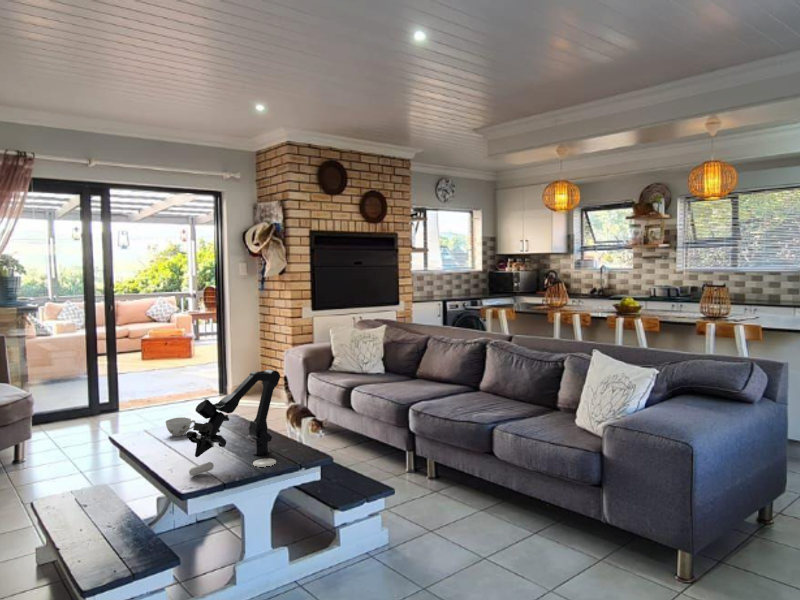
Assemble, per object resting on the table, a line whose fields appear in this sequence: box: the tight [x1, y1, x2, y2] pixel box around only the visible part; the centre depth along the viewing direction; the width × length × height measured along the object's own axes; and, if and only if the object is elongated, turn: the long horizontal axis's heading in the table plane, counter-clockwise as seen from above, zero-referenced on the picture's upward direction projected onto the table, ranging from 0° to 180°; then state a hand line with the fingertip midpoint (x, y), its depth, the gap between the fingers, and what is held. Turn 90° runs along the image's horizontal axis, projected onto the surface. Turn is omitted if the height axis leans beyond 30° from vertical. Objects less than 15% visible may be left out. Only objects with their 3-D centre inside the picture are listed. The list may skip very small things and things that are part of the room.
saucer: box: [252, 457, 277, 468], centre depth 257 cm, size 10×10×1 cm
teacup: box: [165, 416, 197, 437], centre depth 306 cm, size 15×12×8 cm
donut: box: [188, 461, 215, 477], centre depth 242 cm, size 10×4×10 cm
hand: (196, 456), depth 245 cm, fingers closed
